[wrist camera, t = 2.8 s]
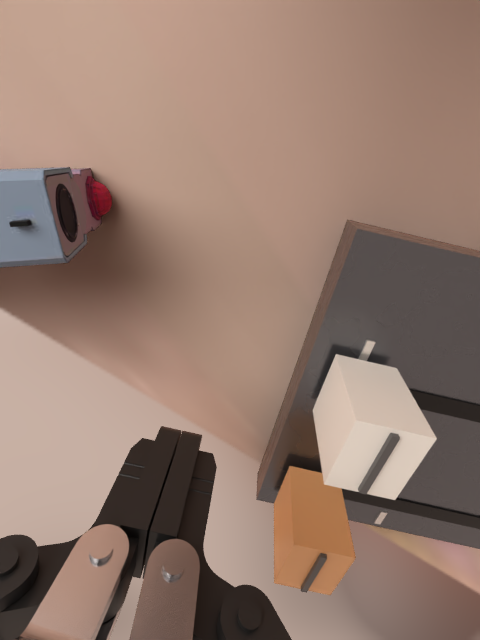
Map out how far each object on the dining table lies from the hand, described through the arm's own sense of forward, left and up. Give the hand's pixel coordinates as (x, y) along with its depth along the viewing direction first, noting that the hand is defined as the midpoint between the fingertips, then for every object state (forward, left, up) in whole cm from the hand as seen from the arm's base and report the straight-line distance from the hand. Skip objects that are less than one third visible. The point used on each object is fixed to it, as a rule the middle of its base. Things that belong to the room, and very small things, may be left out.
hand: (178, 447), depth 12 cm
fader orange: (+8, +8, -5) cm, 12 cm away
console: (+1, +13, -8) cm, 15 cm away
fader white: (0, +8, -5) cm, 9 cm away
